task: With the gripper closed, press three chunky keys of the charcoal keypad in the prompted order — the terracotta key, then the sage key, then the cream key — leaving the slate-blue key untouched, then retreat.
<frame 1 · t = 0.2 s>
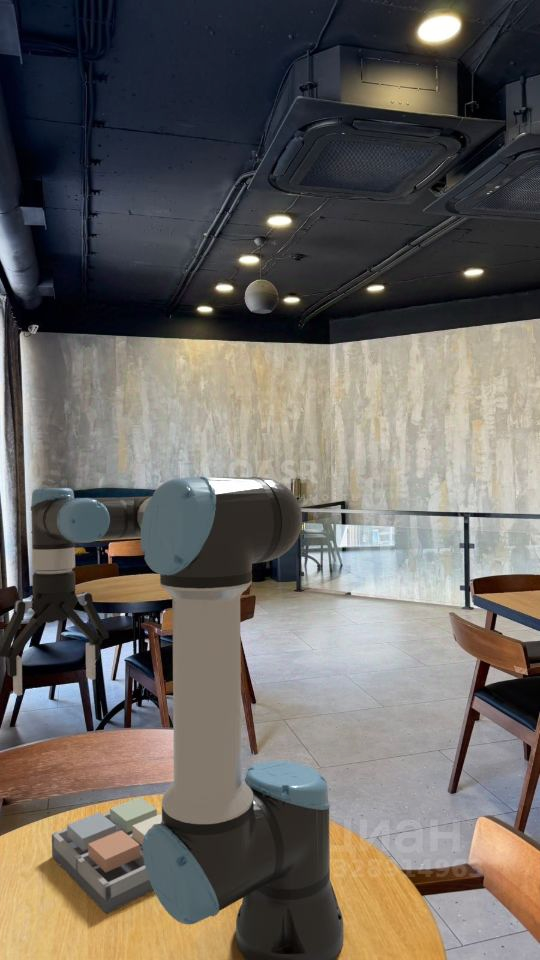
hand: (55, 685, 117), 27 cm above the table, fingers open, 13 cm apart
key slate: (91, 830, 108), point 5 cm above the table, slide at 0.0 cm
keypad base: (124, 862, 107), on the table
key sage: (133, 814, 113), point 5 cm above the table, slide at 0.0 cm
key cream: (156, 831, 107), point 5 cm above the table, slide at 0.0 cm
cup: (206, 819, 121), on the table
key terracotta: (113, 850, 102), point 5 cm above the table, slide at 0.0 cm
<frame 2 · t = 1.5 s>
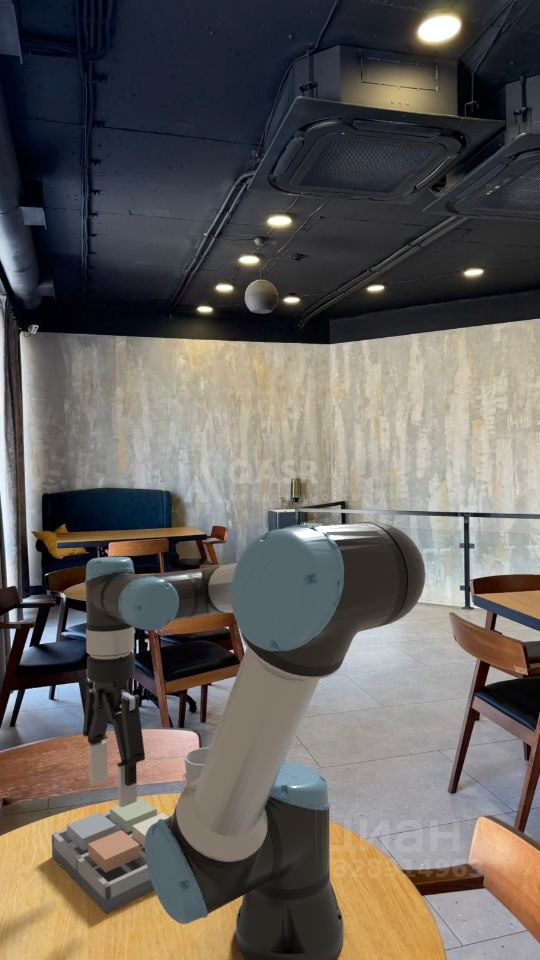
hand: (113, 792, 102), 14 cm above the table, fingers open, 9 cm apart
nothing on the table moved.
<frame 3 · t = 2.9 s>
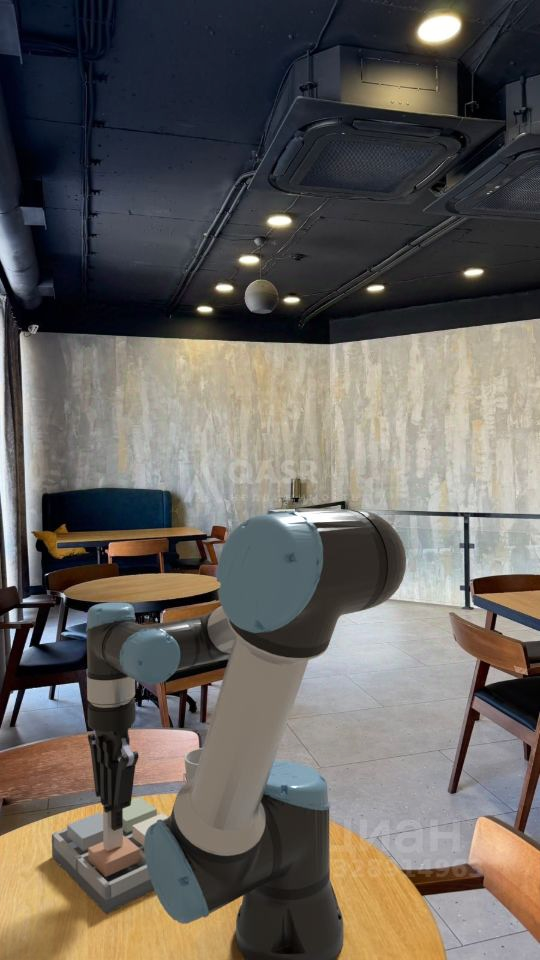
hand: (113, 845, 102), 6 cm above the table, fingers closed
key terracotta: (114, 854, 102), point 5 cm above the table, slide at 0.7 cm, touching gripper
everything else where it was.
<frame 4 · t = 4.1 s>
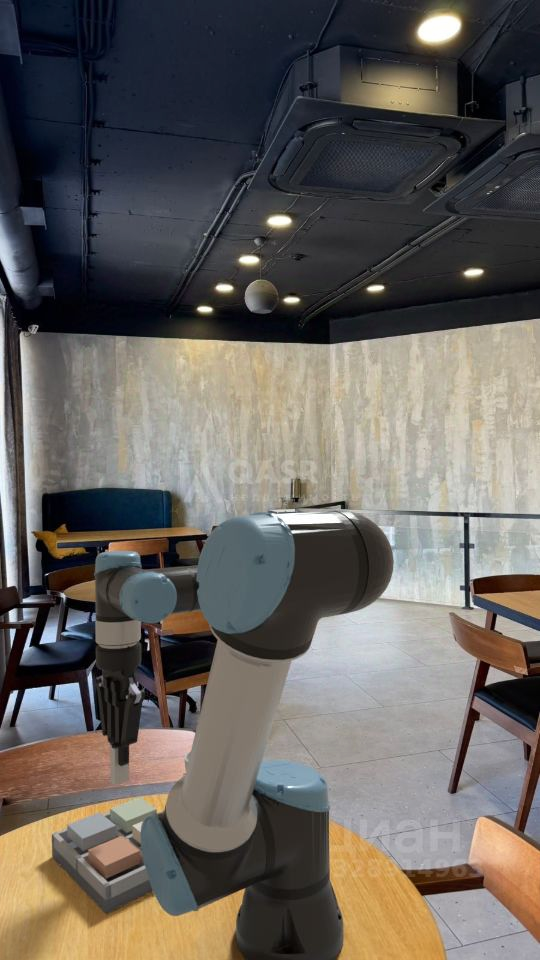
hand: (119, 781, 107), 14 cm above the table, fingers closed
key terracotta: (114, 856, 102), point 4 cm above the table, slide at 1.0 cm
everything else where it was.
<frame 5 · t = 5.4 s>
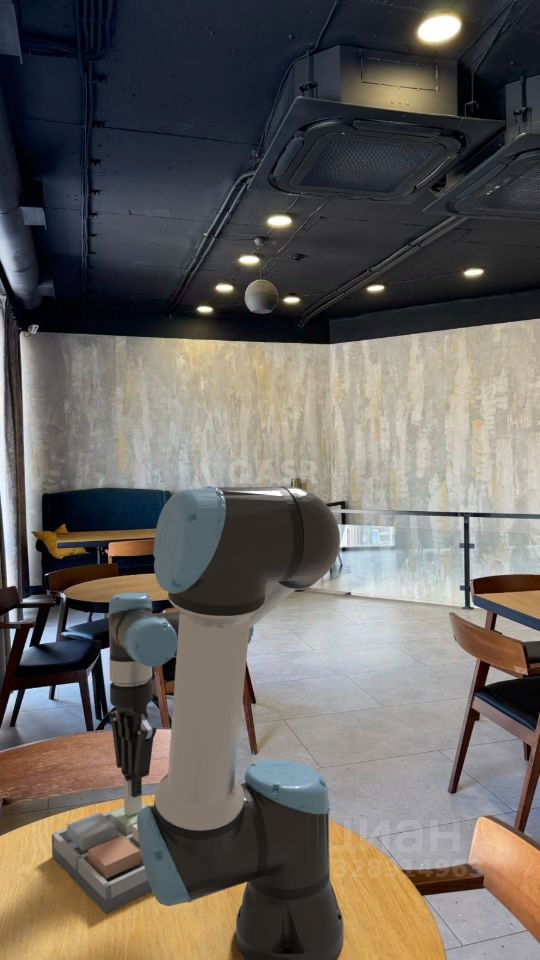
hand: (133, 811, 113), 6 cm above the table, fingers closed
key sage: (133, 819, 113), point 4 cm above the table, slide at 0.9 cm, touching gripper
everything else where it was.
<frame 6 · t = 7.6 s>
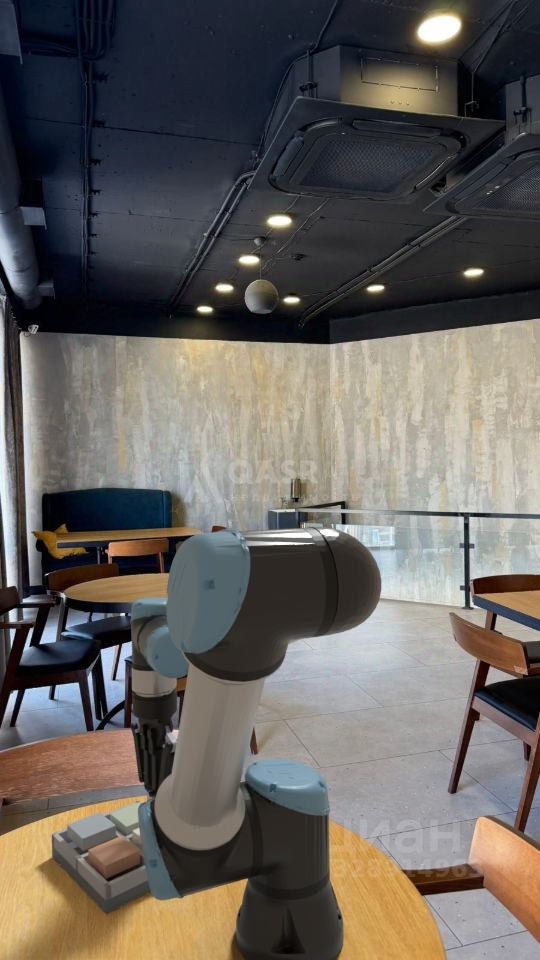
hand: (156, 828, 107), 6 cm above the table, fingers closed
key sage: (133, 819, 113), point 4 cm above the table, slide at 1.0 cm
key cream: (157, 836, 107), point 4 cm above the table, slide at 0.9 cm, touching gripper
everything else where it was.
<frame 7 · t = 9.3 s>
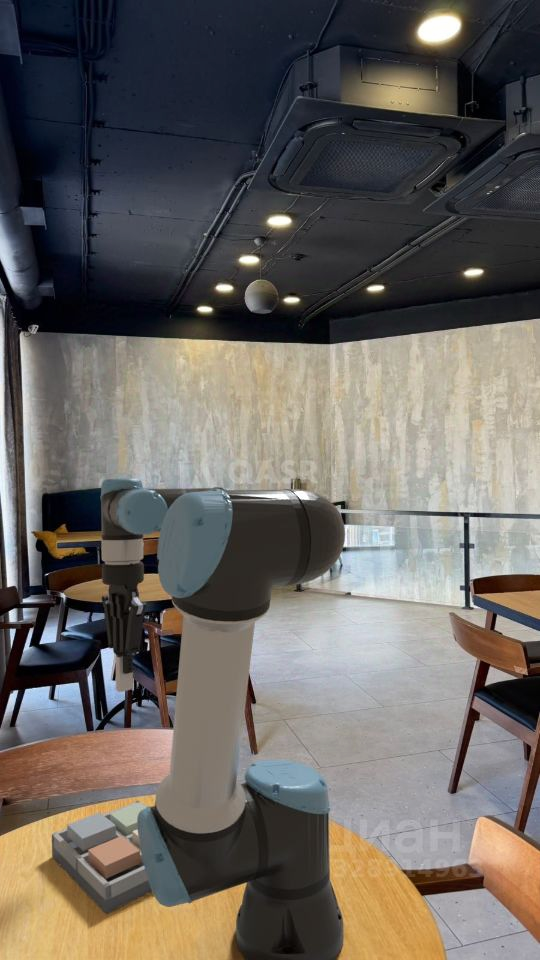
hand: (124, 689, 117), 27 cm above the table, fingers closed
key cream: (157, 837, 107), point 4 cm above the table, slide at 1.0 cm
everything else where it was.
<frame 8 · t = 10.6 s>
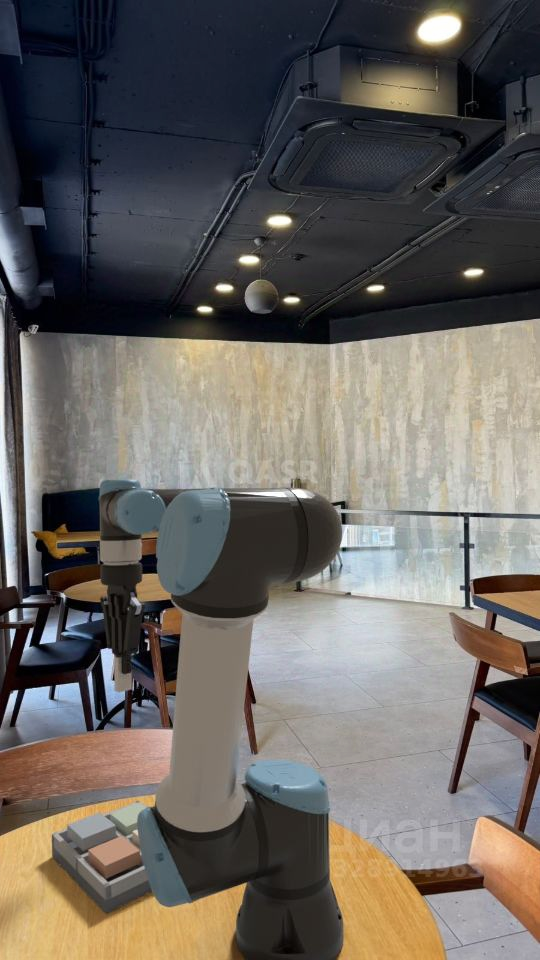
hand: (123, 689, 117), 26 cm above the table, fingers closed
nothing on the table moved.
at the end: key sage slide at 1.0 cm; key cream slide at 1.0 cm; key slate slide at 0.0 cm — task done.
